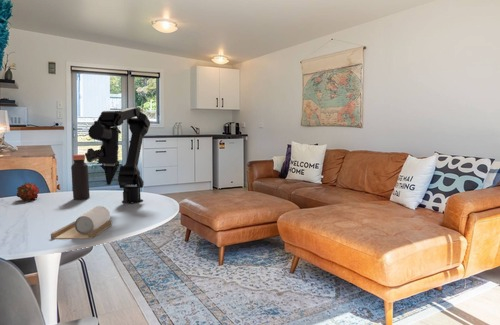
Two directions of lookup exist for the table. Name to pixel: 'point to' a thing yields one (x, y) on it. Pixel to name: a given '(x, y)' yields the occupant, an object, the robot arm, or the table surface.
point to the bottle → (80, 178)
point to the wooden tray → (71, 232)
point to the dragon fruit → (27, 191)
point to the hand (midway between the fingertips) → (108, 184)
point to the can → (92, 220)
